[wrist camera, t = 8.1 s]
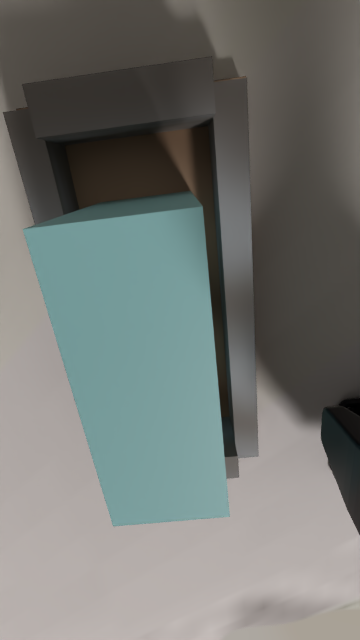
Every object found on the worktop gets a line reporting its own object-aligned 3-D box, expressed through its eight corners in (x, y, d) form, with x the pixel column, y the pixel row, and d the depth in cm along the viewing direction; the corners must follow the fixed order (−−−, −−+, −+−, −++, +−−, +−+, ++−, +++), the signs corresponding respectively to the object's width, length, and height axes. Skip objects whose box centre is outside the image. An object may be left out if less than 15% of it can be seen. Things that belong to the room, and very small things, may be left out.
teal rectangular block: (209, 381, 18) (229, 516, 11) (139, 388, 19) (113, 526, 11) (190, 190, 14) (202, 206, 7) (101, 202, 15) (22, 229, 7)
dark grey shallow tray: (253, 422, 21) (269, 474, 17) (111, 435, 21) (97, 489, 18) (241, 82, 14) (264, 48, 10) (26, 113, 14) (-27, 91, 10)
